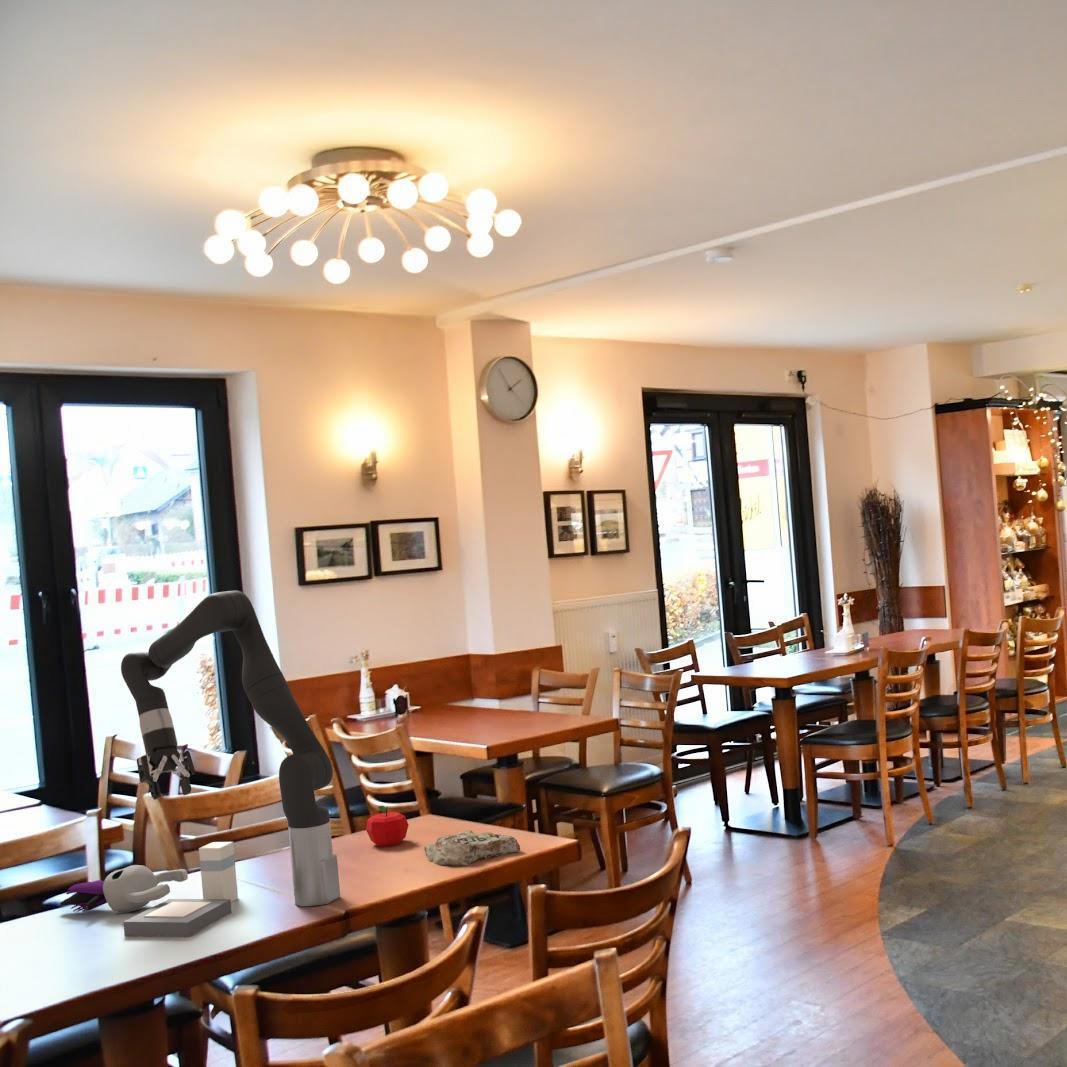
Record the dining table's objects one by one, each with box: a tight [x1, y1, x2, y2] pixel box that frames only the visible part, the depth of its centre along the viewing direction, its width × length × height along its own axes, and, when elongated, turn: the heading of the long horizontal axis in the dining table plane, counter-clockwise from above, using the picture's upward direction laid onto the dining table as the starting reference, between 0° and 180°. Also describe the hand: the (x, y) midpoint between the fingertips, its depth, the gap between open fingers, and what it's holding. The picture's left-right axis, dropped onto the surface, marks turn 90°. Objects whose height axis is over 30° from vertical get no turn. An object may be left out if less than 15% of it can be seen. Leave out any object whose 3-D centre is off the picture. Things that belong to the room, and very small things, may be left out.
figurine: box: [59, 864, 189, 914], centre depth 275 cm, size 16×10×30 cm
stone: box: [423, 829, 521, 867], centre depth 299 cm, size 19×6×25 cm
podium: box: [122, 898, 232, 938], centre depth 259 cm, size 16×16×3 cm
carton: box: [198, 841, 239, 903], centre depth 274 cm, size 6×6×13 cm
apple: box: [365, 805, 410, 848], centre depth 317 cm, size 11×11×10 cm
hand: (172, 796), depth 284 cm, fingers open, 8 cm apart
